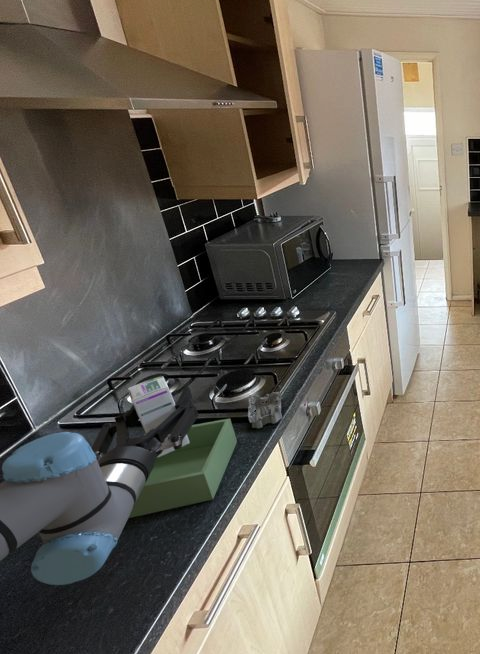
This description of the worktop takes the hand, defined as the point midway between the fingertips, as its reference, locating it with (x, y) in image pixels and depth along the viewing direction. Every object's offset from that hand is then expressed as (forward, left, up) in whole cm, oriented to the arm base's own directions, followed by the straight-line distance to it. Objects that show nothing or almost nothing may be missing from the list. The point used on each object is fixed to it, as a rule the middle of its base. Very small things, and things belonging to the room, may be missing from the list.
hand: (166, 396), depth 88 cm
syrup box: (+1, -5, -9) cm, 10 cm away
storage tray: (0, -5, -18) cm, 18 cm away
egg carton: (+13, +12, -18) cm, 25 cm away
